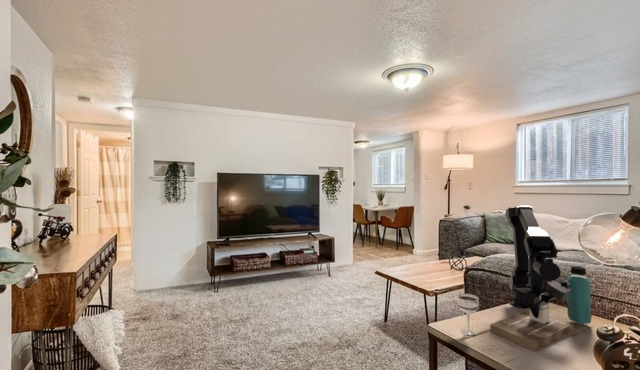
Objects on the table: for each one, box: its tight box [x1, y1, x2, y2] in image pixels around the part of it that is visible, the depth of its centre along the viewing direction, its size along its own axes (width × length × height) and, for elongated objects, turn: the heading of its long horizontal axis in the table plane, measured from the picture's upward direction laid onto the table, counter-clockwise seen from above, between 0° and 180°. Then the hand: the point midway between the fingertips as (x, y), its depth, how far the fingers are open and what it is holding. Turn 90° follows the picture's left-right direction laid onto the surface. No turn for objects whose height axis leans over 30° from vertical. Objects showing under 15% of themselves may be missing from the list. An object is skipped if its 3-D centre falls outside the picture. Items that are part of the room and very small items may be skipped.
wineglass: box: [456, 293, 480, 337], centre depth 106 cm, size 7×7×12 cm
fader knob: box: [530, 302, 550, 324], centre depth 108 cm, size 4×4×6 cm
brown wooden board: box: [489, 308, 574, 352], centre depth 106 cm, size 23×14×3 cm, turn 118°
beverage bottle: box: [566, 265, 593, 325], centre depth 110 cm, size 6×7×20 cm
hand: (539, 316), depth 108 cm, fingers closed on fader knob, 3 cm apart
